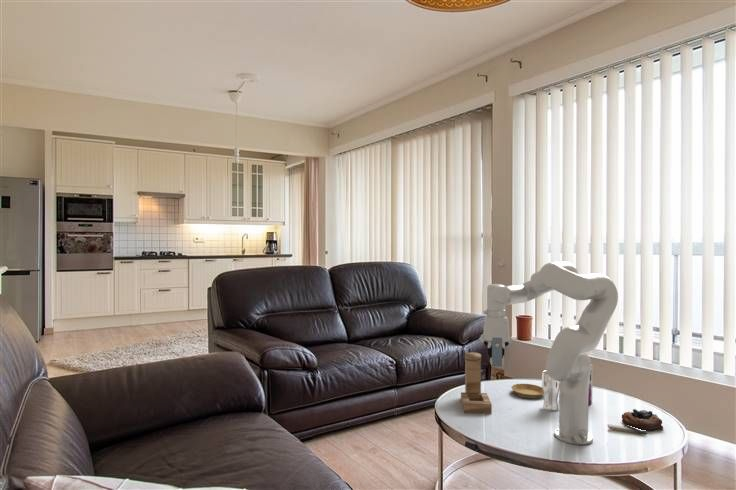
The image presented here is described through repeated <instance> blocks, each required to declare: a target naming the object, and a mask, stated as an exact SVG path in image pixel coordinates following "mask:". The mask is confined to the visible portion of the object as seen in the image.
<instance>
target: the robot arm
mask: <svg viewBox="0 0 736 490" xmlns="http://www.w3.org/2000/svg"><path fill="white" fill-rule="evenodd" d="M552 291H556V292H557V293H560V294H562V295H564V296H565V297H568V298H570V299H573V300H576V301H589V302H588V303H587V305H586V306H585V308H584V309H583V311H581V315H580V316H579V317H580V318H579V319H578V322H577V323H576V324H574V325H570V326H567V327H564V328H562V329H561V330H560V331H559V332H558V333H557V335H556V337H555V339H554V340H553V343H552V345H551V348H550V350H549V352H548V354H547V356H546V359H545V371H547V373H548V375H549V376H550V377H551V378H552V379H554V380H557V381H560V386H559V393H558V399H559V400H558V410H559V411H558V412H559V413H558V417H559V418H558V419H559V420H558V425H559V426H558V428H556V429H555V430H554V437H556V439H558V440H559V441H562V442H565V443H567V444H571V445H576V446H577V445H580V446H585V445H590V444H591V443H593V442H594V437H593V435H592V434H591V433H590V432H589V405H588V387H589V377H590V372H591V365H592V362H591V358H590V356H589V355H588V353H589V352H591V351H594V350H595V349H596V348H597V347H598V346H599V344H600V341H601V339H602V337H603V335H604V333H605V331H606V329H607V326H608V324H609V323H610V320H611V318H612V316H613V314H614V313H615V310H616V307H617V305H618V300H619V293H618V288H617V286H616V284H615V283H614V282H613V280H612V278H610V277H609V276H607V275H605V274H602V273H587V274H578V269H577V267H576V266H575V265H574V264H573V263H572V262H570V261H554V262H553V261H552V262H548V263H545V264H544V265H542V266H541V268H540V269H539V271H536V272H533V273H532V274H531V276H530V280H529V281H526V282H523V283H520V284H512V285H503V284H501V283H491V284H488V285H487V287H486V310H483V311H482V313H483V315H486V316H485V317H484V320H483V331H482V334H481V335H480V337H479V338H478V341H479V342H481V343H482V344H484V346H486V347H487V353H486V354H487V356H489V357H488V358H489V359H490V358H491V357H492V348H491V342H492V338H502V359H503V358H504V356H505V349H506V348H507V346H509V344H511V343H514V339H513V338H512V337H511V335H510V326H509V325H510V324H509V320H508V316H506V306H509V305H515V304H523V303H527V302H530V301H532V300H535V299H537V298H539V297H541V296H543V295H545V294H547V293H549V292H552Z"/></svg>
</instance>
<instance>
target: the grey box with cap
mask: <svg viewBox="0 0 736 490" xmlns="http://www.w3.org/2000/svg"><path fill="white" fill-rule="evenodd" d="M491 348H492V357H491V358H490V357H489V363H490V365H491V367H499V368H500V367H503V358H502V338H492V342H491Z"/></svg>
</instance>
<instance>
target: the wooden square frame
mask: <svg viewBox="0 0 736 490" xmlns="http://www.w3.org/2000/svg"><path fill="white" fill-rule="evenodd" d="M481 362H482V354H481V353H479V352H473V351H472V352H465V353H464V363H465V364H464V367H465V368H464V379H465V380H464V381H465V382H464V386H465V388H464V389H465V390H464V392H462V391H461V392H460V404H461V407H462V410H464V411H463V413H464V414H483V413H486V415H488V414H489V415H490V414H492V411H493V410H492V408H493V405H492V402H491V400H490V397H489V395H488V393H487V392H482V386H481V385H482V382H481V381H482V377H481V376H482V371H481V370H482V363H481Z"/></svg>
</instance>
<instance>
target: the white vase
mask: <svg viewBox="0 0 736 490" xmlns="http://www.w3.org/2000/svg"><path fill="white" fill-rule="evenodd" d="M559 386H560V381H557V380H554V379H552V378H551V377H550V376H549V375H548V373H547V371H546V370H543V371H542V374H541V387H542V389H543V395H542V396H543V403H542V408H543V409H544V410H546V411H551V412H555V411H558V410H559V402H558V399H559Z"/></svg>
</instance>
